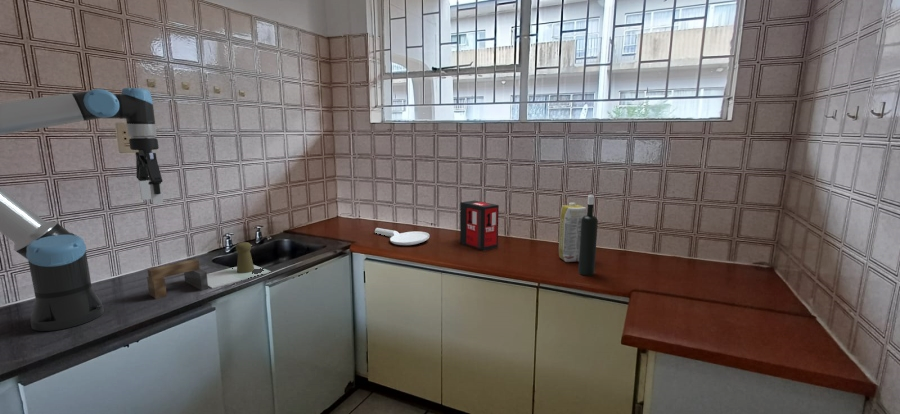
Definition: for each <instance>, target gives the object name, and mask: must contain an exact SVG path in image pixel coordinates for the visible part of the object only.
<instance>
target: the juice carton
mask: <svg viewBox="0 0 900 414" xmlns="http://www.w3.org/2000/svg"><path fill="white" fill-rule="evenodd" d="M586 215H587V207H586V206H583V205H580V204H576V202H569V203H568V205H564V204H563V205H561V211H560V221H559V237H558V238H559V239H558V256H559V258H560V259H561V260H562V261H563V262H565V263H570V262H571V263H573V262H579V253H580V236H581V220H582V218H583V217H584V216H586Z"/></svg>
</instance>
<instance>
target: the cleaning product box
mask: <svg viewBox="0 0 900 414" xmlns="http://www.w3.org/2000/svg"><path fill="white" fill-rule="evenodd" d="M459 206H460V208H459V210H460V211H459V213H460V214H459V215H460V216H459V217H460V220H459V221H460V224H459V225H460V229H459V231H460V233H459V241H460V242H459V244H462V245H464V246H466V247H470V248H474V249H476V250H480V251H483V252H484V251H489V250H493V249H497V248H498V247H499V206H500V205H499V204H494V203H490V202H485V201H480V200H469V201H460V204H459Z"/></svg>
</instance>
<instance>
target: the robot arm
mask: <svg viewBox="0 0 900 414" xmlns="http://www.w3.org/2000/svg"><path fill="white" fill-rule="evenodd" d="M99 119H106V120H107V119H109V120H110V119H119V120H120V119H121V120H122V119H125V121H126V128H127V129H126V131H127V136H128V137H129V139H128V142H129V149H130V150H132V151H135V158H136V159H135V162H136V163H135V164H136V166H135V168H136V169H135V170H136V171H135V172H136V179H137V180H138V184H139V192H140V197H141V198H140V199H141V201H147V200H151V202H152V205H153V206H154V205H161V204H164V199H163V197H164V196H163V191H162V184H161V183H163V178H162V174H161V170H160V167H159V163H158V159H157V158H158V157H157V154H156V152H152V150H153V151H154V150H156V151H157V150H158V149H159V148H160V147H159V141H158V140H159V139H158V138H156V137H157V133H158V132H157V131H158V130H159V128H158V127H157V126H156V120H155V110H154V102H153V98H152V94H151V91H149V89H146V88H139V87H136V88H135V87H123V88H122V89H121V93H116V94H115V93H112V92H111V91H109V90H106V89H102V88H96V89H95V88H94V89H91V90H86V91H80V92H73V93H65V94H57V95H51V96H50V95H49V96H42V97H33V98H28V99H21V100H20V99H19V100H12V101H5V102H0V136H2V135H10V134H14V133H21V132H28V131H33V130H39V129H44V128H50V127H54V126H55V127H56V126H63V125H67V124H68V125H69V124H73V123H74V124H75V123H80V122H85V121H91V120H92V121H93V120H99ZM0 233H1V234H2V235H3V236H4V237H6V238H8V239H9V240H11V242H13V244H14V247H13V250H14V251H15V253H18V254H19V255H20V256H21V257H23V258H25V259H26V260H27V261H28V266H29V271H30V276H31V281H32V288H33V291H34V298H35V301H34V304H33V308H32V312H31V316H30V326H31V329H33V330H34V331H38V332H49V331H50V332H51V331H58V330H63V329H69V328H73V327H77V326H80V325H84V324H86V323H90V321H94V320H96V319H97V318H99V317H100V316H102V315H103V314H104V310H105V309H104V304H103V302H102V300H101V299H100V298H99V296H98V295H97V293H96V292H95V290H94V289H93V287H92V280H91V274H90V268H89V262H88V256H87V245H86V244H85V241H84V239H83V238H82V237H80V236H79V235H77V234H74V233H73V232H70V231H69V230H67V229H66V228H64V227H63V226H62V225H61V224H59V223H58V222H57V221H47V220H44V219H43V218H42V217H41V216H39V215H38V214H37V213H35V212H34V211H32V210H31V209H30V208H29V207H28V206H26V205H25V204H23V202H21V201H19V199H17V198H16V197H14V195H12V194H10V192H8V191H7V190H6V189H4V188H3V187H2V186H0Z"/></svg>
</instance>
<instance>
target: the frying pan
mask: <svg viewBox="0 0 900 414" xmlns="http://www.w3.org/2000/svg"><path fill="white" fill-rule="evenodd" d="M374 233H375V234H376V233H377V234H376V235H379V234H381V235H380V236H384V235H385V237H389V240H390V241H389V242H390V243H392V244H394V245H397V246H412V245H418V244H420V243H424V242H425V241H428V240H429V238H430V234H429V233H428V232H425V231H417V230H416V231H407V232H401V233H399V232H398V231H397V230H394V229H393V230H392V229H386V228H380V227H376V228H375V230H374Z"/></svg>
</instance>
